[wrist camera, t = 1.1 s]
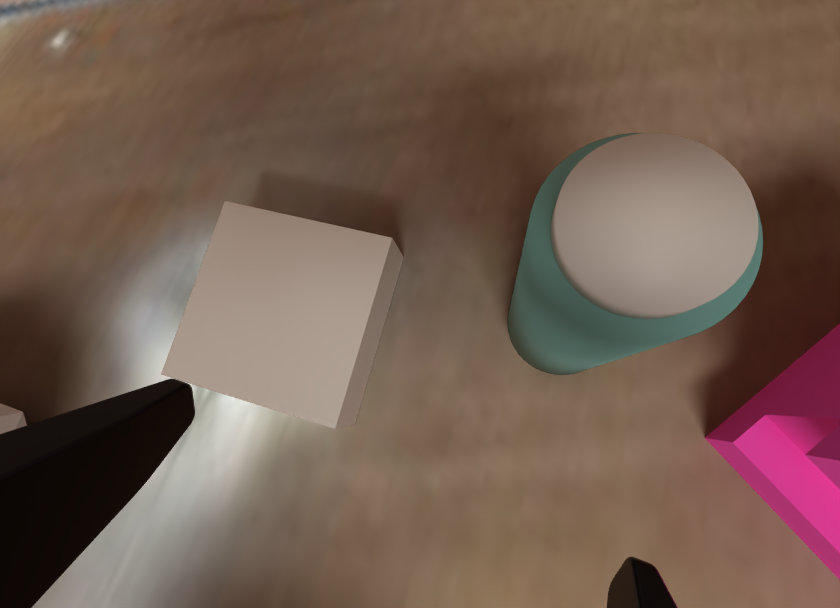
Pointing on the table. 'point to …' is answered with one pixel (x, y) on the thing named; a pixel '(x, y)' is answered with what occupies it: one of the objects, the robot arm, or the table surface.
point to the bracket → (794, 446)
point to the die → (10, 419)
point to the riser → (287, 314)
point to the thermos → (632, 251)
